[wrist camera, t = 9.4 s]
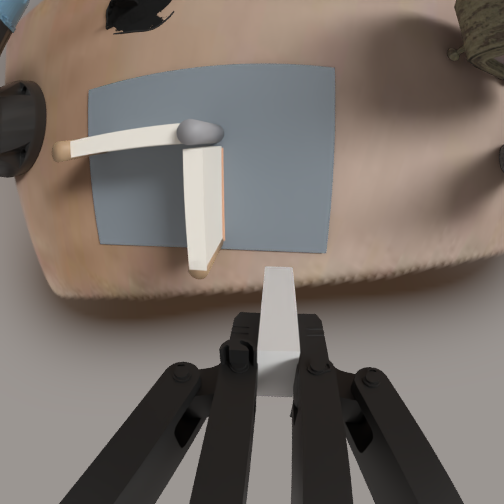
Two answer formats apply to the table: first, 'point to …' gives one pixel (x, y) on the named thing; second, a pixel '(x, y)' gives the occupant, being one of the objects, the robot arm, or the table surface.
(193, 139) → the fixed fence section
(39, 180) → the table surface
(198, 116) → the card
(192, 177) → the cream upright panel
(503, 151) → the beverage cup
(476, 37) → the tabletop clock
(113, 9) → the black jagged rounded shell
